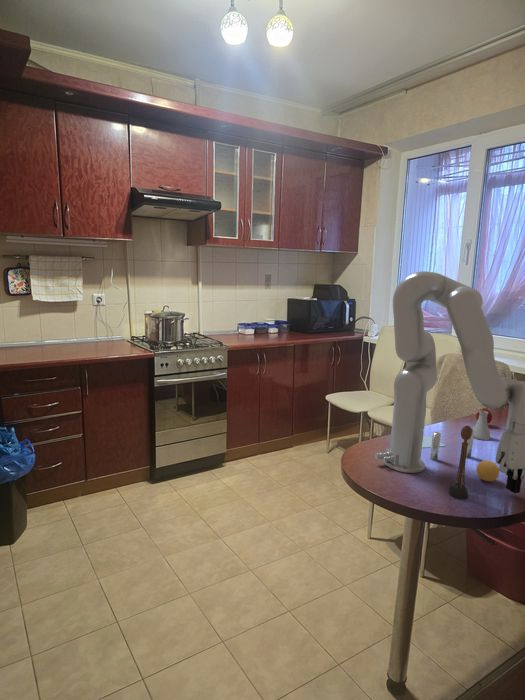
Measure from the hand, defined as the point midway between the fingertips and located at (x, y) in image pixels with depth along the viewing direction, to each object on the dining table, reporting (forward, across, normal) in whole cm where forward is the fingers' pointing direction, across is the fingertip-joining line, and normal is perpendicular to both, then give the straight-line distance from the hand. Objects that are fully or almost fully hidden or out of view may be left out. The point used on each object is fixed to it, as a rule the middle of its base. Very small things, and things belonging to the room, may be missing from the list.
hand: (512, 490), depth 122 cm
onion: (+2, -36, -52) cm, 63 cm away
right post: (+2, -6, -25) cm, 26 cm away
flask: (+2, -25, -40) cm, 48 cm away
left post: (+2, +7, -25) cm, 26 cm away
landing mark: (+2, 0, -39) cm, 39 cm away
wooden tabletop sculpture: (+2, +14, -4) cm, 15 cm away
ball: (-1, 0, -9) cm, 10 cm away
